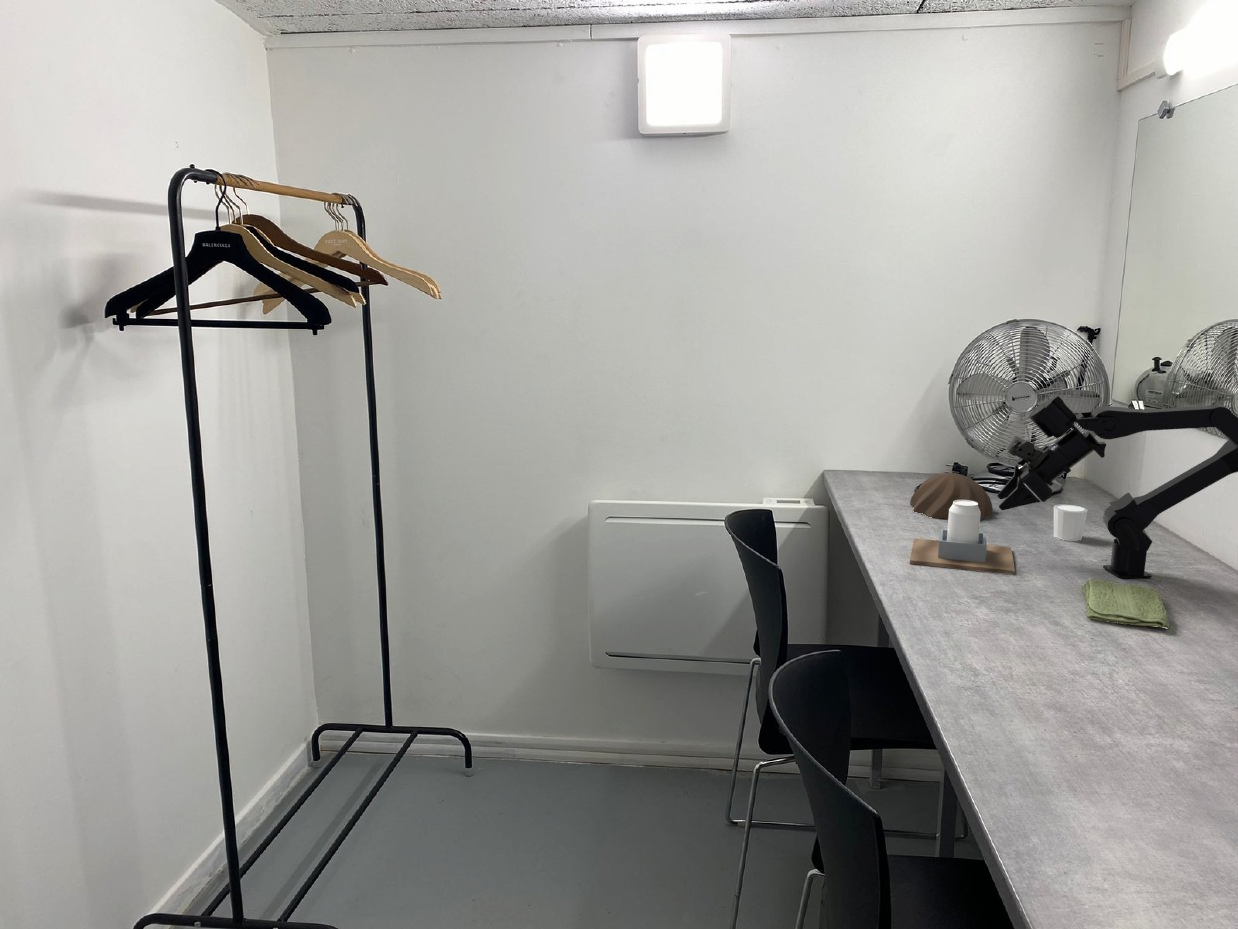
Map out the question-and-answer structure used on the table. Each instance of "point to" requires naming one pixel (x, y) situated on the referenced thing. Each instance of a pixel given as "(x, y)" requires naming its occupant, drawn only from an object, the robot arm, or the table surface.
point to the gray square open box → (962, 548)
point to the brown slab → (995, 560)
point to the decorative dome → (949, 495)
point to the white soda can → (964, 522)
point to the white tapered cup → (1069, 522)
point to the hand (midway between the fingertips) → (999, 502)
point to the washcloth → (1124, 604)
